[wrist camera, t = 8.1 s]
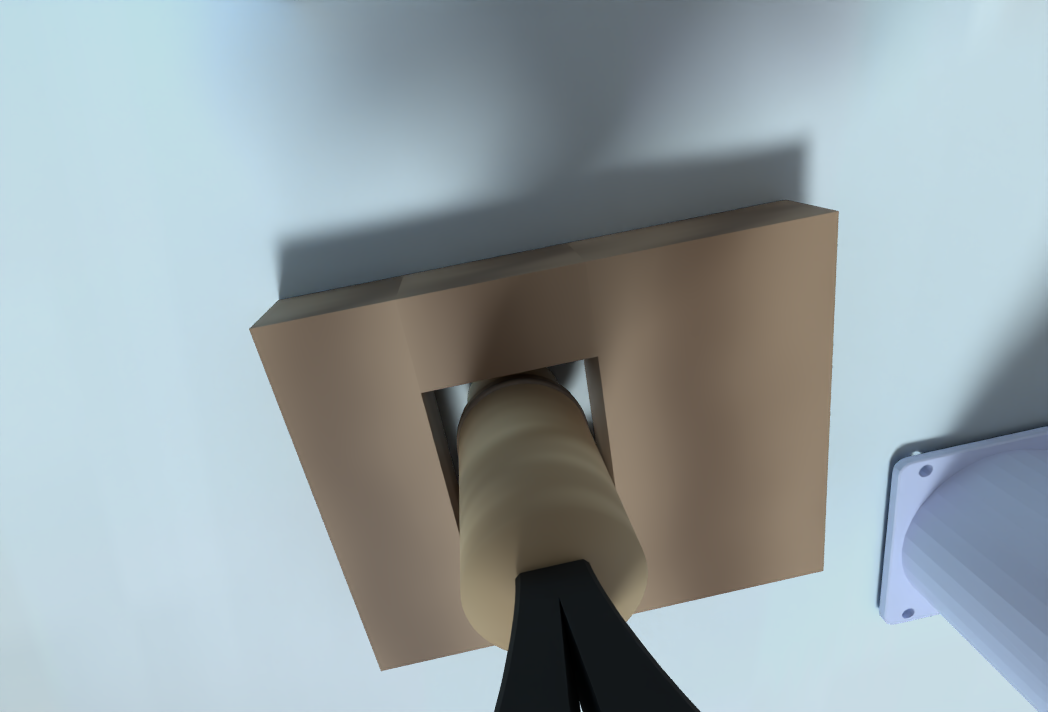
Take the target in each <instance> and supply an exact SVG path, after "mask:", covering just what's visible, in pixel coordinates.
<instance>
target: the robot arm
mask: <svg viewBox="0 0 1048 712" xmlns="http://www.w3.org/2000/svg"><path fill="white" fill-rule="evenodd" d="M937 614H941V615H942V616H943V617H944V618H945V619H946V620H947V621H948V622H949V623H950V624H951V625H952V626H953V627H954V628H955V629H956V630H957V631H958V632H959V633H960V634H961V635H962V636H963V637H964V638H965V639H966V640H967V641H968V642H969V643H970V644H971V645H972V646H973V647H974V648H975V649H976V650H977V651H978V652H979V653H980V654H981V655H982V656H983V657H984V658H985V659H986V660H987V661H988V662H989V663H990V664H991V665H992V666H993V667H994V668H995V669H996V670H997V671H998V672H999V673H1000V674H1001V675H1002V676H1003V677H1004V678H1005V679H1006V680H1007V681H1008V682H1009V683H1010V684H1011V685H1012V686H1013V687H1014V688H1015V689H1016V690H1017V691H1018V692H1019V693H1020V694H1021V695H1022V696H1023V697H1024V698H1025V699H1026V700H1027V701H1028V702H1029V703H1030V704H1031V705H1032V706H1033V707H1034V708H1035V709H1036V710H1037V711H1038V712H1048V426H1046V427H1041V428H1037V429H1032V430H1027V431H1023V432H1018V433H1014V434H1009V435H1005V436H1000V437H996V438H991V439H986V440H982V441H977V442H973V443H968V444H964V445H959V446H955V447H950V448H945V449H941V450H936V451H932V452H927V453H923V454H918V455H914V456H909V457H905V458H903V459H901V460H899V461H898V462H897V463H896V464H895V466H894V468H893V472H892V482H891V493H890V503H889V514H888V524H887V534H886V545H885V555H884V566H883V576H882V587H881V597H880V607H879V615H880V616H881V617H882V619H883V620H884V621H885V622H886V623H887V624H899V623H903V622H907V621H912V620H916V619H920V618H924V617H929V616H933V615H937ZM579 701H580V703H579ZM580 705H581V708H582V711H583V712H700V711H699V709H698V708H697V707H696V706H695V705H694V704H693V703H692V702H691V701H690V700H689V699H688V697H687V696H686V695H685V694H684V693H683V692H682V691H681V690H680V689H679V687H678V686H677V685H676V684H675V683H674V682H673V680H672V679H671V678H670V677H669V676H668V675H667V674H666V672H665V671H664V670H663V669H662V668H661V666H660V665H659V664H658V663H657V662H656V660H655V659H654V658H653V657H652V655H651V654H650V653H649V652H648V650H647V649H646V648H645V646H644V645H643V644H642V643H641V641H640V640H639V639H638V637H637V636H636V635H635V633H634V632H633V631H632V630H631V628H630V627H629V626H628V624H627V623H626V622H625V620H624V619H623V617H622V616H621V615H620V613H619V612H618V610H617V609H616V607H615V606H614V604H613V603H612V601H611V600H610V598H609V597H608V595H607V594H606V592H605V590H604V589H603V587H602V586H601V584H600V582H599V580H598V579H597V577H596V575H595V573H594V571H593V569H592V567H591V565H590V563H589V562H587V561H586V560H584V559H581V560H576V561H572V562H567V563H563V564H558V565H554V566H549V567H545V568H540V569H536V570H531V571H527V572H522V573H520V574H519V575H518V576H517V577H516V578H515V605H514V615H513V622H512V629H511V636H510V642H509V647H508V653H507V658H506V663H505V668H504V673H503V678H502V683H501V687H500V691H499V695H498V699H497V703H496V707H495V710H494V712H581V710H580Z"/></svg>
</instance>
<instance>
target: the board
mask: <svg viewBox="0 0 1048 712" xmlns="http://www.w3.org/2000/svg"><path fill="white" fill-rule="evenodd" d="M838 215H839V211H835V210H831V209H826V208H821V207H817V206H812V205H808V204H803V203H798V202H794V201H789V200H782V201H777V202H772V203H767V204H762V205H757V206H752V207H747V208H741V209H736V210H731V211H726V212H721V213H716V214H711V215H706V216H701V217H696V218H691V219H686V220H681V221H676V222H671V223H666V224H661V225H656V226H651V227H646V228H641V229H636V230H630V231H625V232H620V233H615V234H610V235H605V236H600V237H595V238H590V239H585V240H580V241H575V242H570V243H565V244H560V245H555V246H550V247H545V248H540V249H535V250H530V251H524V252H519V253H514V254H509V255H504V256H499V257H494V258H489V259H484V260H479V261H474V262H469V263H464V264H459V265H454V266H449V267H444V268H439V269H434V270H429V271H424V272H419V273H413V274H408V275H403V276H398V277H393V278H388V279H383V280H378V281H373V282H368V283H363V284H358V285H353V286H348V287H343V288H338V289H333V290H328V291H323V292H318V293H313V294H307V295H302V296H297V297H292V298H287V299H282V300H278V301H277V302H276V303H275V304H274V305H273V306H272V307H271V308H270V309H269V310H268V311H267V312H266V313H265V314H264V315H263V316H262V317H261V318H260V319H259V320H258V321H257V322H256V323H255V324H254V325H253V326H252V327H251V328H250V329H249V330H250V333H251V335H252V338H253V340H254V343H255V346H256V348H257V351H258V353H259V356H260V358H261V361H262V364H263V366H264V369H265V371H266V374H267V377H268V379H269V382H270V384H271V387H272V390H273V392H274V395H275V397H276V400H277V403H278V405H279V408H280V410H281V413H282V416H283V418H284V421H285V423H286V426H287V428H288V431H289V434H290V436H291V439H292V441H293V444H294V447H295V449H296V452H297V454H298V457H299V460H300V462H301V465H302V467H303V470H304V473H305V475H306V478H307V480H308V483H309V485H310V488H311V491H312V493H313V496H314V498H315V501H316V504H317V506H318V509H319V511H320V514H321V517H322V519H323V522H324V524H325V527H326V530H327V532H328V535H329V537H330V540H331V542H332V545H333V548H334V550H335V553H336V555H337V558H338V561H339V563H340V566H341V568H342V571H343V574H344V576H345V579H346V581H347V584H348V587H349V589H350V592H351V594H352V597H353V599H354V602H355V605H356V607H357V610H358V612H359V615H360V618H361V620H362V623H363V625H364V628H365V631H366V633H367V636H368V638H369V641H370V644H371V646H372V649H373V651H374V654H375V657H376V659H377V662H378V664H379V667H380V669H381V671H383V670H388V669H392V668H397V667H401V666H405V665H410V664H414V663H419V662H423V661H428V660H432V659H436V658H441V657H445V656H450V655H454V654H458V653H463V652H467V651H472V650H476V649H480V648H485V647H489V646H494V645H493V644H492V643H490V642H489V641H487V640H486V639H484V638H483V637H482V636H481V635H480V634H479V633H477V631H476V630H475V629H474V628H473V627H472V625H471V624H470V622H469V621H468V619H467V617H466V615H465V613H464V610H463V607H462V602H461V592H460V515H459V485H458V481H457V477H456V473H455V470H454V466H453V462H452V458H451V454H450V451H449V447H448V443H447V439H446V435H445V432H444V428H443V424H442V420H441V416H440V412H439V409H438V405H437V401H436V397H435V393H434V390H438V389H443V388H448V387H452V386H457V385H462V384H467V383H472V382H477V381H481V380H486V379H491V378H496V377H501V376H506V375H510V374H515V373H520V372H525V371H530V370H535V369H539V368H544V367H549V366H554V365H559V364H564V363H568V362H573V361H578V360H583V359H584V365H585V371H586V378H587V385H588V392H589V399H590V406H591V413H592V420H593V427H594V434H595V441H596V446H597V448H598V450H599V453H600V455H601V457H602V459H603V461H604V464H605V466H606V468H607V470H608V473H609V475H610V477H611V479H612V482H613V484H614V486H615V488H616V491H617V493H618V495H619V497H620V500H621V502H622V504H623V506H624V509H625V511H626V513H627V515H628V518H629V520H630V522H631V524H632V527H633V529H634V531H635V533H636V536H637V538H638V540H639V542H640V545H641V547H642V549H643V552H644V554H645V557H646V562H647V568H648V578H647V585H646V589H645V592H644V595H643V597H642V600H641V602H640V604H639V606H638V607H637V609H636V610H635V612H634V613H633V614H635V613H639V612H644V611H648V610H652V609H657V608H661V607H666V606H670V605H675V604H679V603H683V602H688V601H692V600H697V599H701V598H705V597H710V596H714V595H719V594H723V593H727V592H732V591H736V590H741V589H745V588H750V587H754V586H758V585H763V584H767V583H772V582H776V581H780V580H785V579H789V578H794V577H798V576H802V575H807V574H811V573H816V572H820V571H823V566H824V543H825V519H826V496H827V472H828V449H829V426H830V402H831V379H832V355H833V332H834V308H835V285H836V261H837V238H838Z"/></svg>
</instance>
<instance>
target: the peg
mask: <svg viewBox="0 0 1048 712" xmlns="http://www.w3.org/2000/svg"><path fill="white" fill-rule="evenodd" d="M457 452H458V457H459V515H460V592H461V602H462V607H463V610H464V613H465V615H466V617H467V619H468V621H469V622H470V624H471V625H472V627H473V628H474V629H475V630H476V631H477V633H479V634H480V635H481V636H482V637H483V638H484V639H486V640H487V641H489V642H490V643H492V644H493V645H495V646H497V647H499V648H501V649H504V650H507V651H508V647H509V642H510V636H511V629H512V622H513V615H514V605H515V578H516V577H517V576H518V575H519V574H520V573H522V572H527V571H531V570H536V569H540V568H545V567H549V566H554V565H558V564H563V563H567V562H572V561H576V560H581V559H584V560H586V561H587V562H589V563H590V565H591V567H592V569H593V571H594V573H595V575H596V577H597V579H598V580H599V582H600V584H601V586H602V587H603V589H604V590H605V592H606V594H607V595H608V597H609V598H610V600H611V601H612V603H613V604H614V606H615V607H616V609H617V610H618V612H619V613H620V615H621V616H622V617H623V619H624V620H625V622H627V621H628V619H629V618H630V617H631V616H632V615H633V613H634V612H635V610H636V609H637V607H638V606H639V604H640V602H641V600H642V597H643V595H644V592H645V589H646V585H647V578H648V568H647V562H646V557H645V554H644V552H643V549H642V547H641V545H640V542H639V540H638V538H637V536H636V533H635V531H634V529H633V527H632V524H631V522H630V520H629V518H628V515H627V513H626V511H625V509H624V506H623V504H622V502H621V500H620V497H619V495H618V493H617V491H616V488H615V486H614V484H613V482H612V479H611V477H610V475H609V473H608V470H607V468H606V466H605V464H604V461H603V459H602V457H601V455H600V453H599V450H598V448H597V446H596V444H595V441H594V439H593V437H592V435H591V432H590V430H589V427H588V422H587V419H586V417H585V414H584V412H583V410H582V408H581V406H580V405H579V403H578V402H577V400H576V399H575V398H574V397H573V396H572V395H571V393H570V392H569V391H568V390H567V389H566V388H565V387H563V386H562V385H560V384H559V383H558V382H557V379H556V378H555V376H554V375H553V373H552V372H551V371H550V370H549V369H548V368H547V367H544V368H539V369H535V370H530V371H525V372H520V373H515V374H510V375H506V376H501V377H496V378H491V379H486V380H481V381H477V382H472V384H471V386H470V389H469V393H468V403H467V405H466V407H465V408H464V410H463V413H462V415H461V418H460V422H459V425H458V429H457Z"/></svg>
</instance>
